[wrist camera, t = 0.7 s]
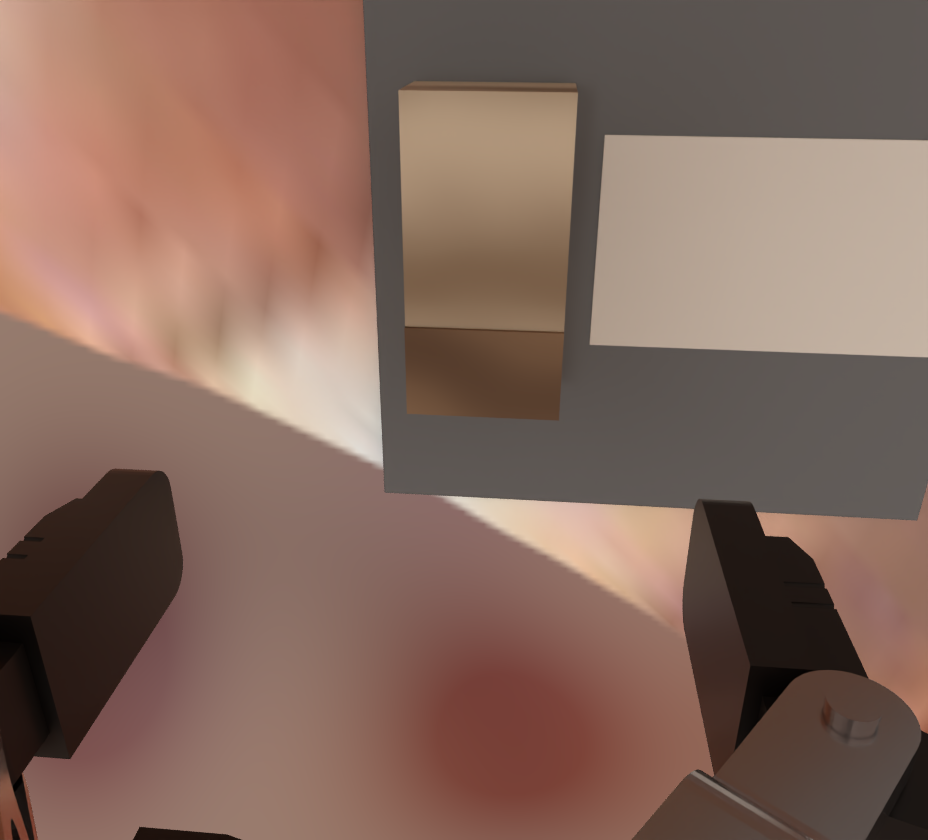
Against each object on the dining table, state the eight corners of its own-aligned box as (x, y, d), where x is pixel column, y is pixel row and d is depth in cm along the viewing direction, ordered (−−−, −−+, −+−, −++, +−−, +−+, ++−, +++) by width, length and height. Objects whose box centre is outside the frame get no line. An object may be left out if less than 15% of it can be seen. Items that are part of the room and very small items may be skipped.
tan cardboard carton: (413, 81, 27) (397, 90, 24) (575, 83, 26) (577, 92, 23) (420, 376, 31) (406, 413, 28) (558, 382, 31) (559, 420, 28)
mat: (361, -105, 25) (357, -107, 24) (1086, -110, 23) (1096, -112, 23) (386, 487, 34) (384, 493, 33) (913, 514, 32) (918, 521, 32)
